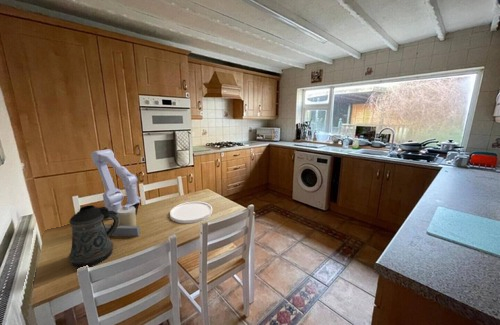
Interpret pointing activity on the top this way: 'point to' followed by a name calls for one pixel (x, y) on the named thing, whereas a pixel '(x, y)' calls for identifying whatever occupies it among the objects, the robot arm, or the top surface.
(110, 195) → the robot arm
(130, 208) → the coffee cup
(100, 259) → the beer stein
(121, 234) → the plank
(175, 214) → the plate
